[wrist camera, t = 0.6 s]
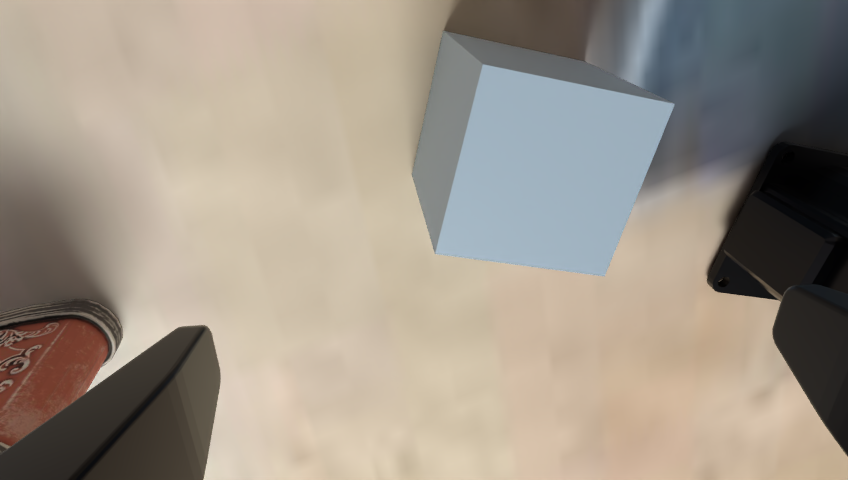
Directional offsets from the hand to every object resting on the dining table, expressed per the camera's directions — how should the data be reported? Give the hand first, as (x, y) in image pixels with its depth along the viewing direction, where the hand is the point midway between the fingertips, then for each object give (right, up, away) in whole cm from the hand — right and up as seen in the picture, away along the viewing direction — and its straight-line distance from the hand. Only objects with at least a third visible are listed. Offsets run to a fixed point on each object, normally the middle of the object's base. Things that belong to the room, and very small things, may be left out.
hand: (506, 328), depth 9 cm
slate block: (+1, +6, +11) cm, 12 cm away
